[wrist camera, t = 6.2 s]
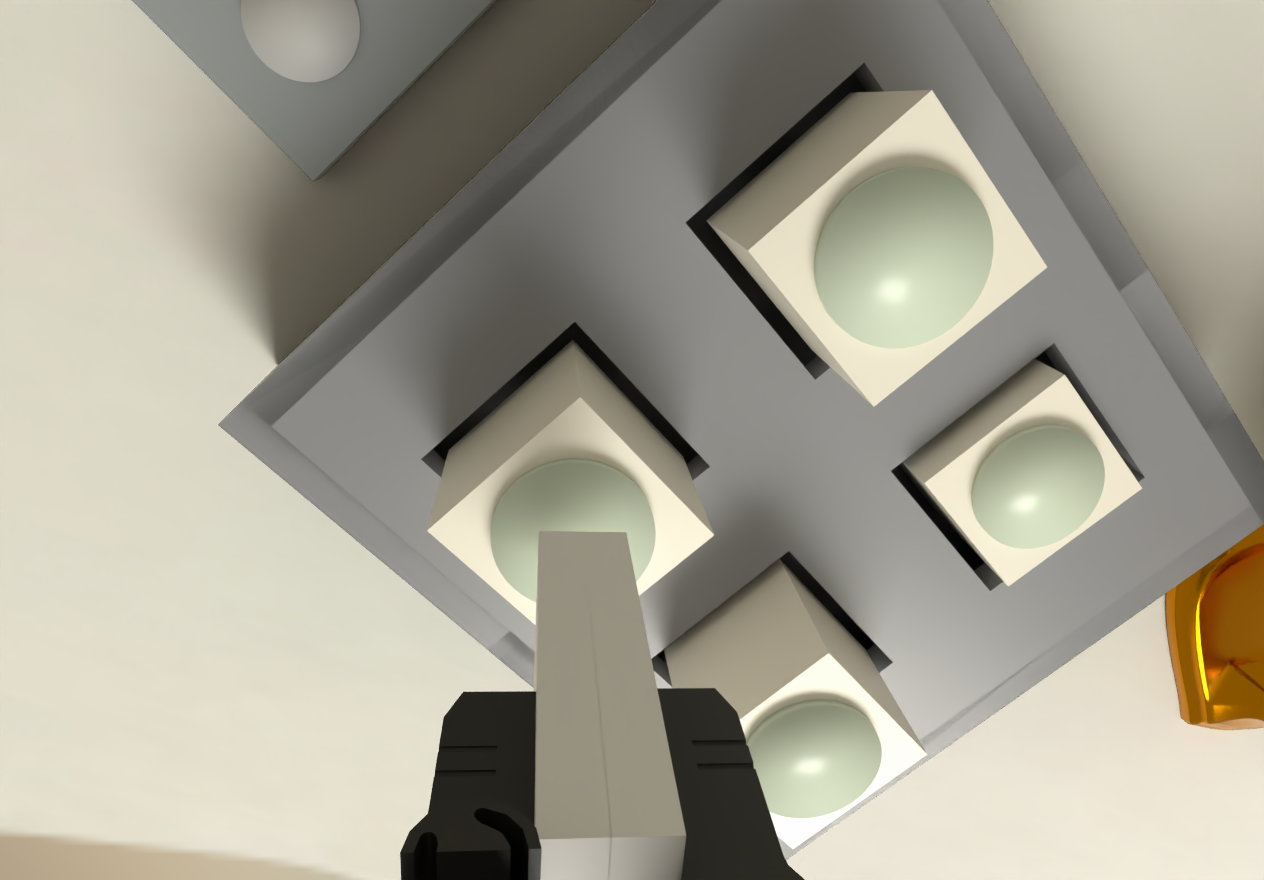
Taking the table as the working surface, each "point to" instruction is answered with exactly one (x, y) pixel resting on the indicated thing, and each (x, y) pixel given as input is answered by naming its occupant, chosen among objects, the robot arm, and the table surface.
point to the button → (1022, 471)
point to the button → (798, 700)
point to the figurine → (1221, 639)
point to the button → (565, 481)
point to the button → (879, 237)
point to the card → (314, 61)
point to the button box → (770, 357)
